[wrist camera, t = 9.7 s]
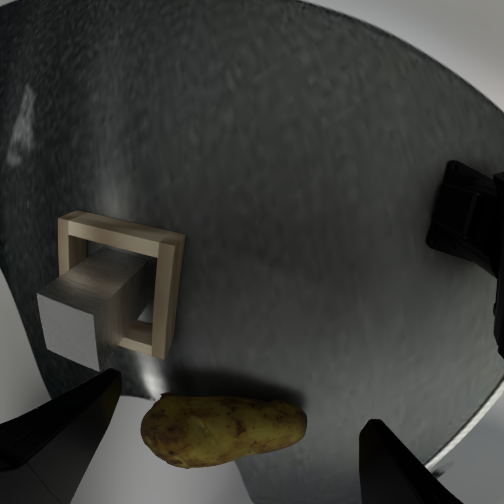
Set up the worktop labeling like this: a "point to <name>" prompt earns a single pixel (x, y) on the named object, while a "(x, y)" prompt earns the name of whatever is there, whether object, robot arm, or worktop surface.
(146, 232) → the frame
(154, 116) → the worktop surface
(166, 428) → the potato
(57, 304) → the brushed grey square prism
